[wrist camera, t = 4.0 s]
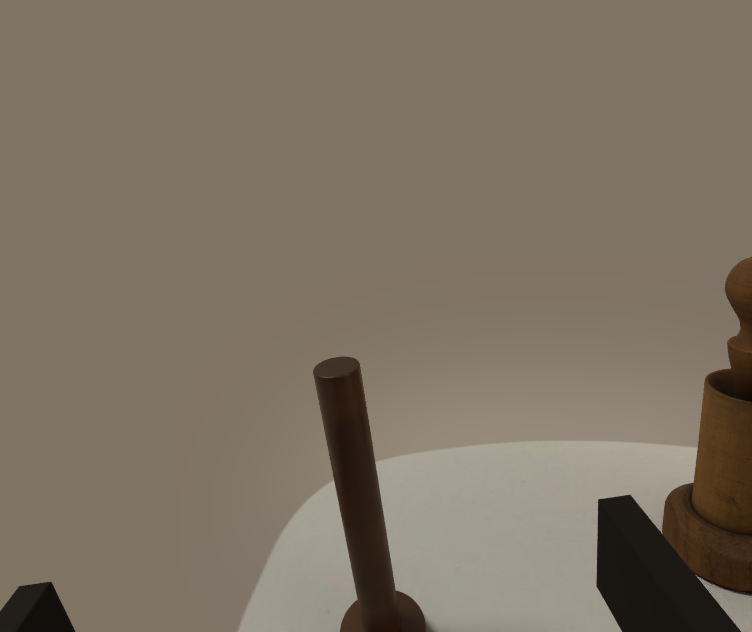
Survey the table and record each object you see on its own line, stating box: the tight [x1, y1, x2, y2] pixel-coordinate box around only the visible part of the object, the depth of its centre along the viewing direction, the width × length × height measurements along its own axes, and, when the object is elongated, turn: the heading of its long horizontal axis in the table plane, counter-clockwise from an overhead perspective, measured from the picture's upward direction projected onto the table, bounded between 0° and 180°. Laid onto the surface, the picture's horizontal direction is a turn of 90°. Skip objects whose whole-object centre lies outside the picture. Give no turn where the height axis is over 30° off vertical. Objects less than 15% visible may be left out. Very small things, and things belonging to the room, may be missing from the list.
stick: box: [313, 357, 426, 632], centre depth 23 cm, size 5×5×17 cm
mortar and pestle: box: [662, 257, 752, 592], centre depth 26 cm, size 7×6×18 cm
